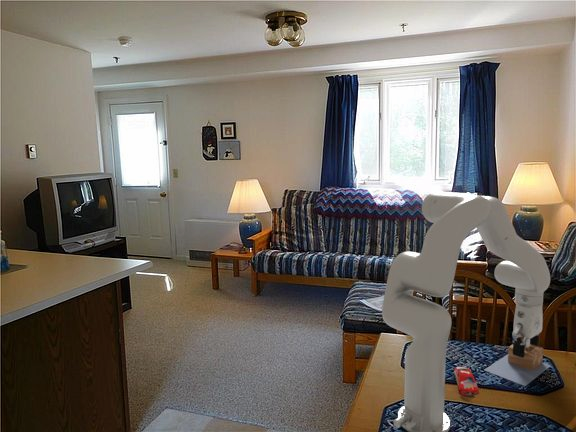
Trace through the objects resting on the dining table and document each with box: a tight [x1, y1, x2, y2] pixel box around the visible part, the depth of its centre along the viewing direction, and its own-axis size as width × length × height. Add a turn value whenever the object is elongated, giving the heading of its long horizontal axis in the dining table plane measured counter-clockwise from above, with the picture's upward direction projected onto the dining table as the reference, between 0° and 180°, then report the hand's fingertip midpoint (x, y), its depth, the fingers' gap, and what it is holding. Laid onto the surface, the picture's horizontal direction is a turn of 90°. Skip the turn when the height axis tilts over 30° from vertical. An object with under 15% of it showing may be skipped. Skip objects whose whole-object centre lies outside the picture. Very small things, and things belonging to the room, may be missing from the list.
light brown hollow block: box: [508, 344, 544, 370], centre depth 134 cm, size 7×7×5 cm
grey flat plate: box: [484, 354, 552, 387], centre depth 132 cm, size 18×12×1 cm, turn 128°
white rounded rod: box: [522, 334, 530, 351], centre depth 134 cm, size 2×2×11 cm
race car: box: [453, 366, 480, 398], centre depth 124 cm, size 13×5×4 cm, turn 167°
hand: (525, 351), depth 134 cm, fingers open, 9 cm apart
